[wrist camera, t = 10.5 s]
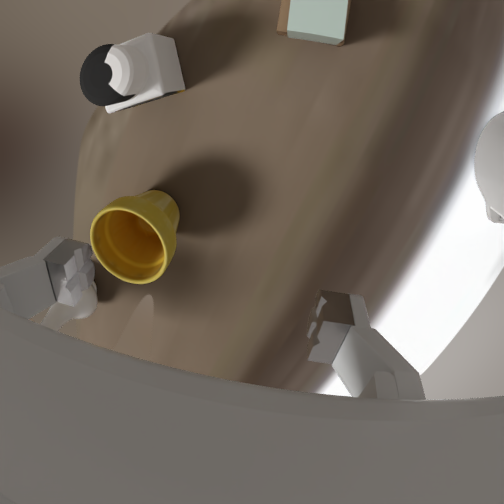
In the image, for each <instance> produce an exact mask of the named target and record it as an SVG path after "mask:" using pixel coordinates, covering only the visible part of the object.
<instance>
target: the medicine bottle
mask: <svg viewBox="0 0 504 504" xmlns="http://www.w3.org/2000/svg"><path fill="white" fill-rule="evenodd" d="M80 85H81V89H82V92H83V94H84V95H85V97H86V98H87V99H88V100H89V101H90V102H92V103H93V104H96V105H99V106H105V107H106V111H107V113H113V112H116V111H120V110H123V109H127V108H131V107H135V106H138V105H141V104H144V103H147V102H150V101H153V100H156V99H160V98H163V97H166V96H170V95H173V94H177V93H180V92H183V91H185V85H184V81H183V76H182V72H181V68H180V63H179V59H178V55H177V50H176V46H175V41H174V39H173V38H170V37H166V36H162V35H158V34H153V33H146V34H144V35H141V36H139V37H136V38H134V39H131V40H129V41H126V42H124V43H122V44H119V45H114V44H108V45H102V46H100V47H98V48H96V49H95V50H93V51H92V52H91V53H90V54H89V55H88V56H87V58H86V59H85V61H84V63H83V65H82V68H81V72H80Z"/></svg>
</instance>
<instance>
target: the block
mask: <svg viewBox="0 0 504 504" xmlns="http://www.w3.org/2000/svg"><path fill="white" fill-rule="evenodd" d="M290 1H291V0H282V2H281V7H280V13H279V19H278V25H277V34H278V35H285V36H288V35H287V26H288V18H289V10H290ZM350 4H351V0H348V5H347V15H346V24H345V32H344V40H345V34H346V29H347V23H348V17H349V11H350ZM344 40H342V41H341V42H340V43H338V44H337V45H335V46H339V47H340V46H342V45H343V44H344ZM326 44H327V43H326ZM330 45H332V44H330Z"/></svg>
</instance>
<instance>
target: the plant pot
mask: <svg viewBox="0 0 504 504" xmlns="http://www.w3.org/2000/svg"><path fill="white" fill-rule="evenodd" d="M179 218H180V214H179V209H178V206H177V204H176V202H175V201H174V200H173V198H172V197H170V196H169V195H168V194H166V193H164V192H162V191H158V190H150V191H147V192H144V193H142V194H139V195H136V196H125V197H121V198H118V199H116V200H114V201H113V202H111V203H110V204H108V205H107V206H106V207H105V208H103V209H102V210H101V211H100V212H99V213H98V214H97V215H96V217H95V218H94V220H93V222H92V225H91V230H90V239H91V245H92V248H93V251H94V253H95V255H96V257H97V258H98V260H99V261H100V263H101V264H102V265H103V266H104V267H105V268H106V269H107V270H108V271H109V272H110V273H111V274H113V275H114V276H116V277H117V278H119V279H121V280H123V281H126V282H129V283H134V284H146V283H150V282H153V281H155V280H157V279H158V278H159V277H160V276H162V274H163V273H164V272H165V270H166V269H167V267H168V265H169V264H170V262H171V260H172V258H173V256H174V253H175V250H176V230H177V227H178V223H179Z"/></svg>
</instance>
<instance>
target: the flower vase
mask: <svg viewBox="0 0 504 504" xmlns="http://www.w3.org/2000/svg"><path fill="white" fill-rule="evenodd" d="M96 293H97V287H96V284H95V282H94V280H93V283H92V284H91V286H90V287H89V288H88V289H86V290H83V291H82V294H83V296H82V297H81V299H80V300H79V301H78V302H77V304H76V305H75V306H74V307H72V306H69V305H66V304H62V303H59V302H56V303H55V304H53V305H52V306H51V307H50V310H49V312H48V313H47V315H46V316H45V318H44V319H43V320H42V322H41V323H40V325H43V326H45V327H48V328H50V329H53V330H55V331H59V329H60V328H61V327H62V326H63V325H64V324H65V323H67V322H68V321H70V320H72V319H83V318H86V317H89V316H90V315H92V314H93V312H94V311H95V310H96V307H97V304H98V301H97V294H96Z"/></svg>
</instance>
